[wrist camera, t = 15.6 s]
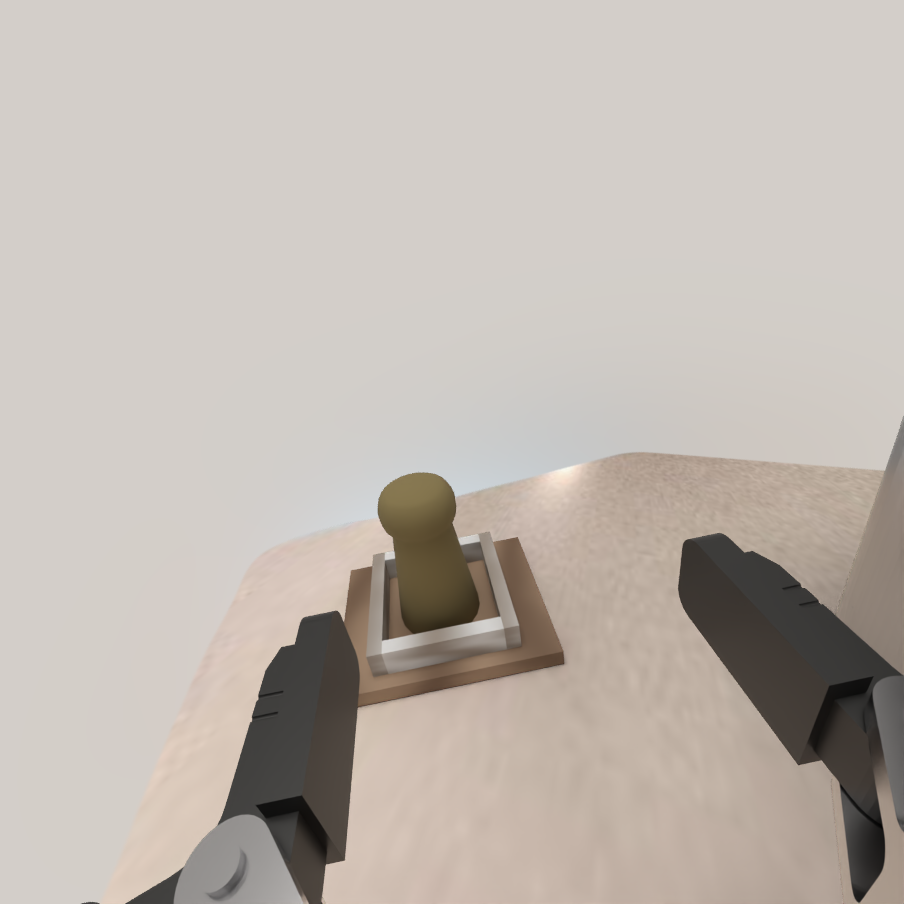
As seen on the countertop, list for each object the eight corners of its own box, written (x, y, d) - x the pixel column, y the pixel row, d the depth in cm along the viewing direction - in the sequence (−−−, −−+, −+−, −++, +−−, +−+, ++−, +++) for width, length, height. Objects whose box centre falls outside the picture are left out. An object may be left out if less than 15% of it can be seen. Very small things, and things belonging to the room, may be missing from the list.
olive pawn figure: (437, 567, 37) (412, 454, 32) (495, 596, 33) (477, 472, 28) (385, 615, 33) (346, 495, 28) (443, 653, 30) (411, 523, 25)
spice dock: (518, 547, 40) (515, 519, 38) (563, 663, 29) (562, 630, 28) (354, 580, 39) (345, 553, 38) (339, 710, 29) (324, 679, 27)
